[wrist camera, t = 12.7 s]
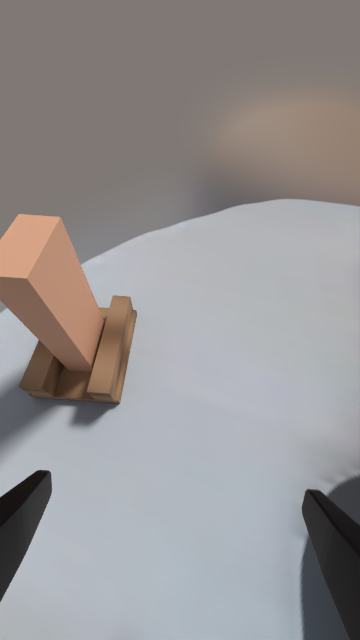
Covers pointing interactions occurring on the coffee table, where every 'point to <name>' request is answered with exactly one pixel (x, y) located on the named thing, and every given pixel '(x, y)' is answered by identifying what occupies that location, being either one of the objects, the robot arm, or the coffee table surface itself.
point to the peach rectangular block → (50, 290)
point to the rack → (109, 367)
